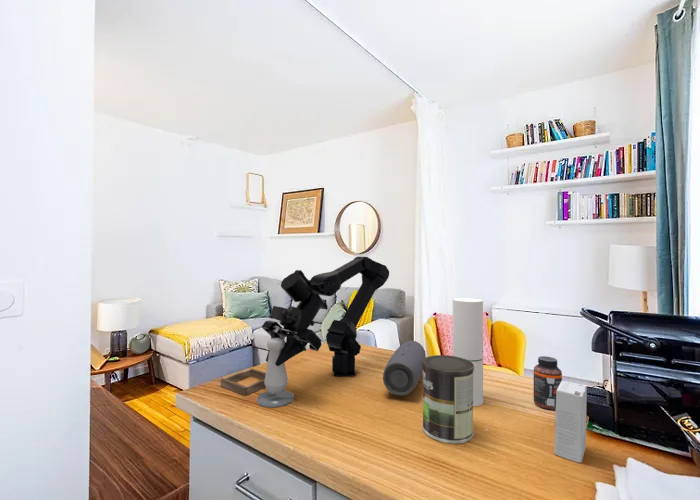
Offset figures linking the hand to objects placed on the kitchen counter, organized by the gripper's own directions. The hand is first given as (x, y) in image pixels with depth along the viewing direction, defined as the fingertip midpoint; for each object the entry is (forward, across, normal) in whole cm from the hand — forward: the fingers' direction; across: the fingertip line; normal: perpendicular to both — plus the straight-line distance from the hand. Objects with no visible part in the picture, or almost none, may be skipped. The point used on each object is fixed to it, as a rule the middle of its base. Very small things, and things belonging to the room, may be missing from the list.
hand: (271, 363), depth 85 cm
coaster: (+6, 0, +7) cm, 9 cm away
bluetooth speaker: (-15, +19, +29) cm, 38 cm away
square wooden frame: (+5, -13, +8) cm, 16 cm away
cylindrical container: (-16, +36, +30) cm, 50 cm away
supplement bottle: (-23, +52, +37) cm, 68 cm away
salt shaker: (+4, 0, +6) cm, 7 cm away
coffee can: (-4, +39, +18) cm, 43 cm away
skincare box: (-10, +59, +24) cm, 65 cm away
